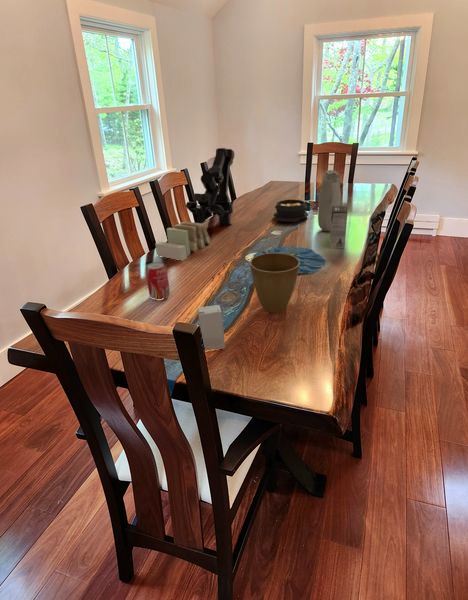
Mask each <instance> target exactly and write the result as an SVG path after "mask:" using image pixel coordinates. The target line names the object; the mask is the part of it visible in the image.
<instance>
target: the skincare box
mask: <svg viewBox="0 0 468 600" xmlns="http://www.w3.org/2000/svg"><path fill="white" fill-rule="evenodd" d="M197 314H198V315H197V316H198V320H199V329H200V328H201V330H200V333H201V332H202V337H203V342H204V347H205V351H206V350H210V349H219V348H225V349H226V342H225V333H224V322H223V312H222V310H221V307H220V304H215V305H209V306H201V307H200V306H199V307H197ZM202 337H201V338H202Z"/></svg>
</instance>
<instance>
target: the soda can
mask: <svg viewBox="0 0 468 600" xmlns="http://www.w3.org/2000/svg"><path fill="white" fill-rule="evenodd" d="M145 277H146V283H147V290H148V293H149V298H150V297H152V298H155V299H162V298H166V297H167V298H169V297H170V295H171V294H170V293H171V292H170V291H171V290H170V283H169V277H168V271H167V268H166V266H165V264H164V262H160V261H155V262H150V263H148V264H147V265H146V270H145ZM152 298H151V299H152ZM167 298H166V299H167Z"/></svg>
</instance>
